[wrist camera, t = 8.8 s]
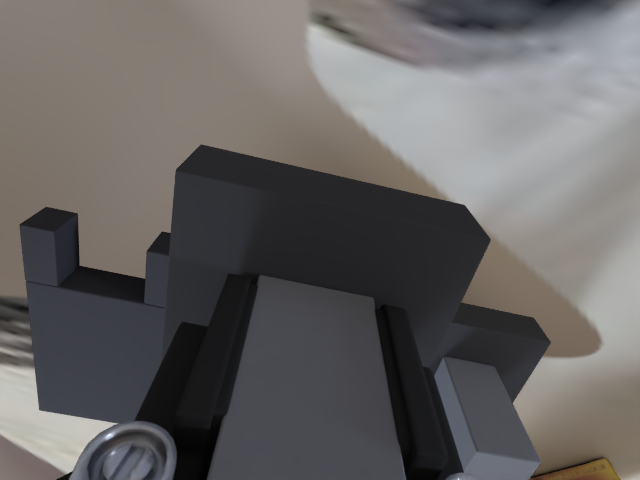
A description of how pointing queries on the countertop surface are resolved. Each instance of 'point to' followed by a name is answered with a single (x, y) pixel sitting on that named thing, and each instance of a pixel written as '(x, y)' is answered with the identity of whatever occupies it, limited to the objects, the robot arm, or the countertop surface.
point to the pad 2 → (489, 389)
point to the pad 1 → (313, 305)
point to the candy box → (584, 472)
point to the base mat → (91, 322)
